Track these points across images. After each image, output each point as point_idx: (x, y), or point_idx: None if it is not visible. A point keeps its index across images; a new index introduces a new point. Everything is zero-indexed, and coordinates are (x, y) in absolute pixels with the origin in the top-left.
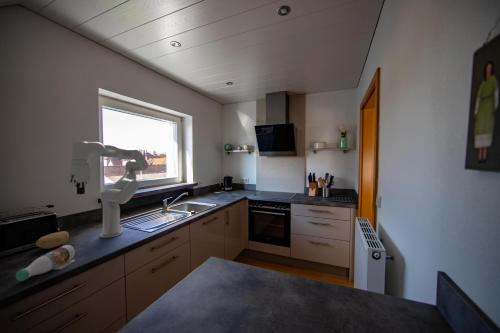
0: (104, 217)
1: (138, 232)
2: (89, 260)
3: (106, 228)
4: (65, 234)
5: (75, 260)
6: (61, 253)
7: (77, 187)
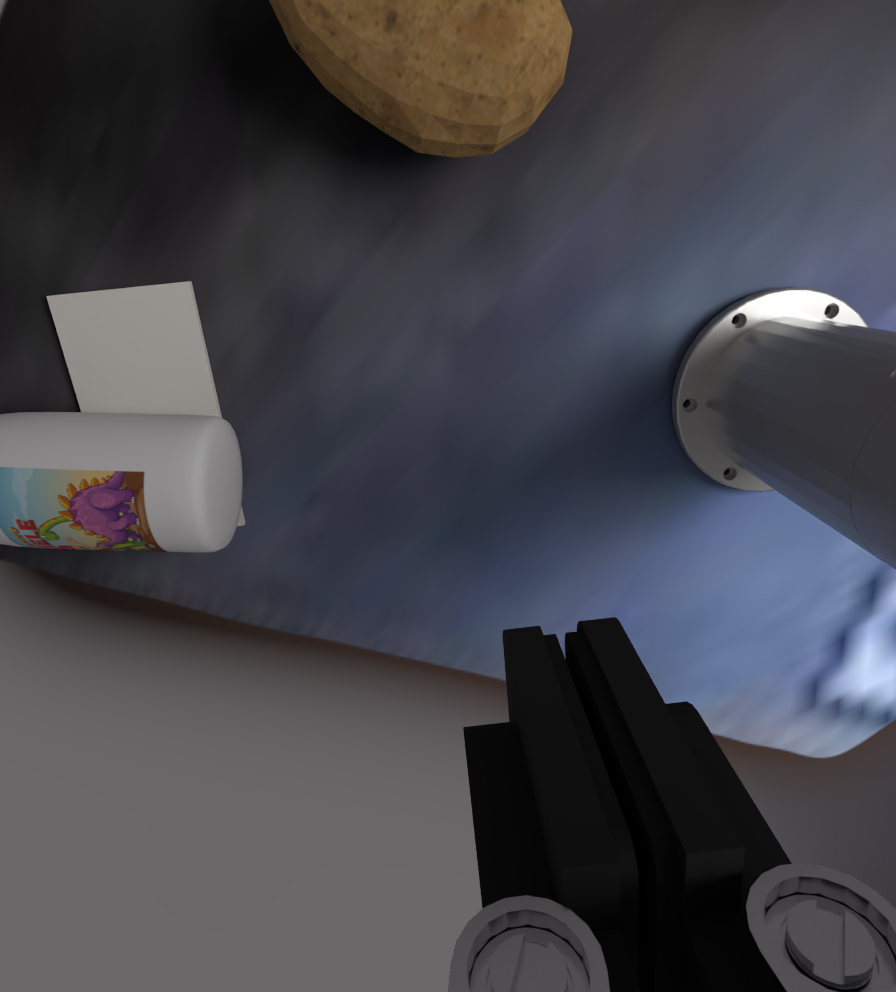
0: (826, 430)
1: (814, 604)
2: (271, 612)
3: (739, 422)
4: (489, 123)
5: (243, 523)
6: (107, 549)
7: (485, 976)
